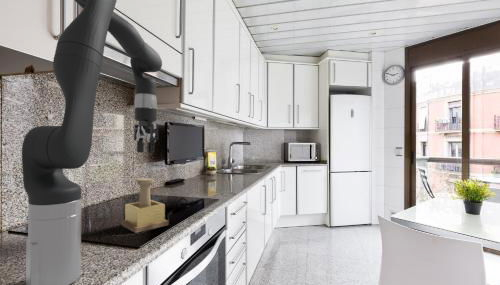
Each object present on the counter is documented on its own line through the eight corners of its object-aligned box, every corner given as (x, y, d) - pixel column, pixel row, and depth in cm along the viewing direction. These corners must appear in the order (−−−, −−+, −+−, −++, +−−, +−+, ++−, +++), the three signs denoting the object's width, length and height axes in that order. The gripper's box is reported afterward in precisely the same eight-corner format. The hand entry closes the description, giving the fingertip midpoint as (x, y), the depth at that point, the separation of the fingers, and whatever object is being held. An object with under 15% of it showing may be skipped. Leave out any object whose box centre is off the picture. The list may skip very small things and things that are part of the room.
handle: (144, 224, 93) (144, 180, 93) (133, 221, 96) (133, 179, 96) (156, 220, 97) (156, 179, 97) (145, 217, 100) (145, 177, 100)
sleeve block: (135, 232, 88) (135, 210, 88) (121, 225, 96) (121, 204, 96) (168, 224, 97) (168, 204, 97) (152, 218, 105) (153, 199, 105)
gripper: (127, 108, 99) (126, 152, 99) (144, 104, 89) (144, 153, 89) (146, 110, 104) (146, 152, 104) (165, 107, 94) (165, 153, 94)
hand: (145, 152), depth 96 cm, fingers open, 8 cm apart
